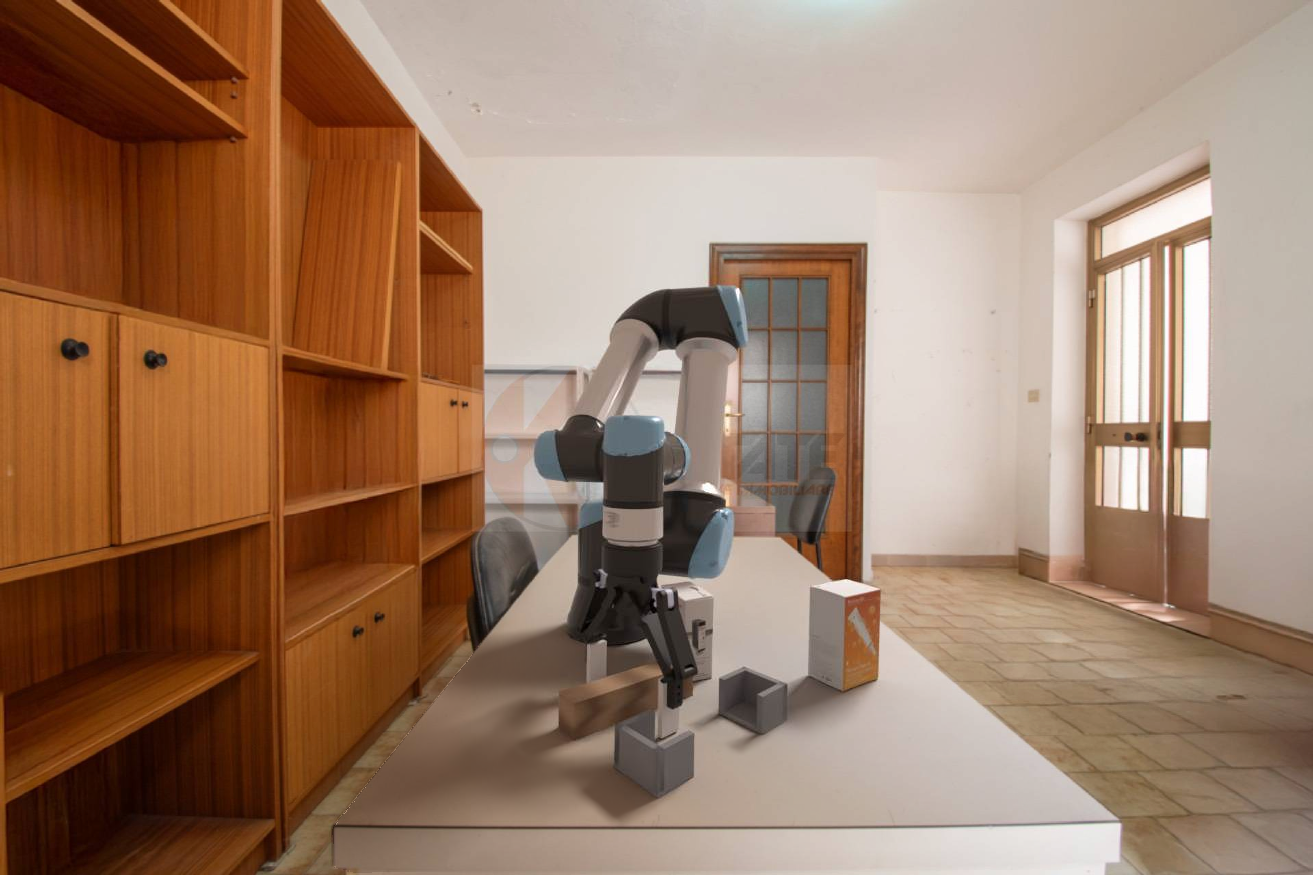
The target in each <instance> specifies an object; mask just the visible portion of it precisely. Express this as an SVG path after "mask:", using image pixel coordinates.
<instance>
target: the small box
mask: <svg viewBox="0 0 1313 875" xmlns="http://www.w3.org/2000/svg"><path fill="white" fill-rule="evenodd" d="M881 590H882V589H881V588H879V587H875V586H871V585H868V584H865V583H861V582H859V581H854V580H851V579H847V578H846V579H845V578H844V579H841V580H835V581H828V582H824V583H822V584H821V583H820V584H816V585H811V586H810V587H809V615H808V616H809V618H808V622H809V624H808V653H807V655H808V663H807V664H808V665H807V675H808V676H809V677H811V678H813V679H815V680H817V681H819V682H822V683H824V684H826V685H828V686H830V687H832V688H834V689H836V690H839V691H841V692H846V691H847V690H849V689H852V688H855V687H858V686H860V685H863V684H867V683H869V682H871V681H876V680H878V679H879V664H880V663H879V662H880V635H881V634H880V633H881V632H880V631H881V630H880V628H881V627H880V626H881V594H882V592H881Z"/></svg>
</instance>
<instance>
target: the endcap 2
mask: <svg viewBox="0 0 1313 875" xmlns="http://www.w3.org/2000/svg"><path fill="white" fill-rule="evenodd" d="M718 714H720V715H722V716H723V717H726V718H728V719H729V720H732V721H734V722H736V723H738V724H740V725H742V726H744V727H746V728H748V729H750V730H752V731H753V732H756V733H758V734H759V735H762V736H763V735H764V734H766V733H767V732H770V731H771V730H772V729H774V728H776V727H777V726H779V725H781V724H782V723H784V722H786V721H788V683H787V682H784V681H781V680H780V679H779V680H778V679H776V678H773V677H771V676H769V675H766V674H764V673H761V672H759V671H756V670H753V669H751V668H750V667H746V666H742V667H739V668H738V669H735V670H733V671H731V672H728V673H727V674H724V675H723V676H720V677H719V678H718Z"/></svg>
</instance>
